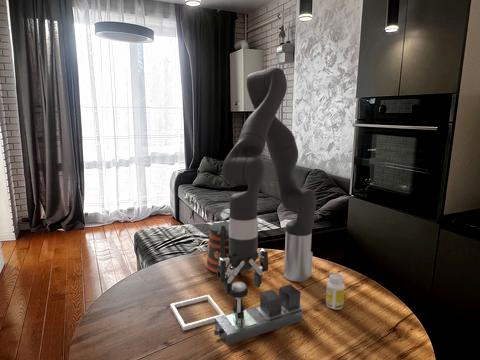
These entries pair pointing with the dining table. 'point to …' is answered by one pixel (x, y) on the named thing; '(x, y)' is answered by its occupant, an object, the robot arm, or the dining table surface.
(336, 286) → the supplement bottle
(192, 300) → the empty frame
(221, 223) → the beer stein
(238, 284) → the push button
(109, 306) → the dining table surface
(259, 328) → the power strip
